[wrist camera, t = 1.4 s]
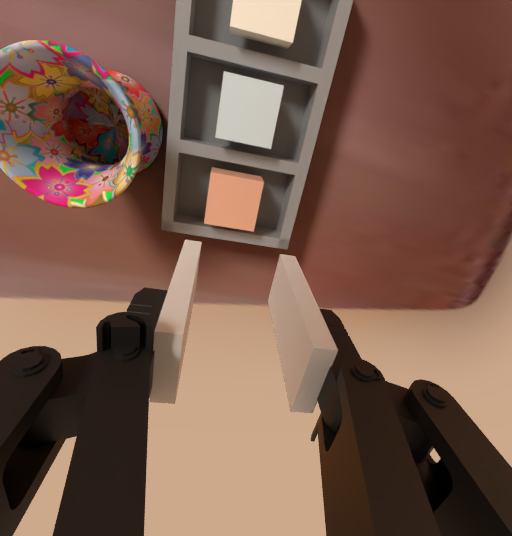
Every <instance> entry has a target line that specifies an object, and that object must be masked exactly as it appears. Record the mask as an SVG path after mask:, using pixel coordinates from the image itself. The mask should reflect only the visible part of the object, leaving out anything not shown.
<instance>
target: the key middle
mask: <svg viewBox="0 0 512 536" xmlns="http://www.w3.org/2000/svg"><path fill="white" fill-rule="evenodd" d="M283 88H284V86H283V85H279V84H275V83H271V82H267V81H263V80H259V79H254V78H250V77H246V76H242V75H238V74H234V73H230V72H226V71H224V74H223V81H222V89H221V97H220V104H219V112H218V120H217V127H216V135H215V138H220V139H225V140H230V141H234V142H239V143H244V144H249V145H254V146H259V147H263V148H268V149H271V146H272V141H273V136H274V132H275V127H276V122H277V117H278V112H279V108H280V103H281V98H282V93H283Z"/></svg>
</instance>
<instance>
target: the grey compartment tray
mask: <svg viewBox="0 0 512 536" xmlns="http://www.w3.org/2000/svg"><path fill="white" fill-rule="evenodd" d="M352 3H353V0H302V1H301V6H300V11H299V16H298V21H297V26H296V30H295V35H294V40H293V43H292V44H291V45H290V46H289V47H288V48H287V49H285V48H282V47H278V46H274V45H270V44H266V43H263V42H259V41H255V40H251V39H247V38H244V37H240V36H236V35H232V34H230V20H231V12H232V5H233V0H176V11H175V26H174V41H173V56H172V71H171V86H170V101H169V116H168V131H167V146H166V161H165V176H164V191H163V206H162V221H161V230H164V231H170V232H177V233H183V234H190V235H196V236H203V237H209V238H216V239H222V240H228V241H235V242H241V243H248V244H254V245H261V246H267V247H274V248H280V249H287V248H288V245H289V241H290V237H291V233H292V230H293V226H294V222H295V218H296V215H297V211H298V207H299V203H300V199H301V196H302V192H303V188H304V184H305V181H306V177H307V173H308V169H309V166H310V162H311V158H312V154H313V150H314V147H315V143H316V139H317V135H318V132H319V128H320V124H321V120H322V117H323V113H324V109H325V105H326V101H327V98H328V94H329V90H330V86H331V83H332V79H333V75H334V71H335V68H336V64H337V60H338V56H339V52H340V49H341V45H342V41H343V37H344V34H345V30H346V26H347V22H348V19H349V15H350V11H351V7H352ZM224 71H226V72H230V73H234V74H238V75H242V76H246V77H250V78H254V79H259V80H263V81H267V82H271V83H275V84H279V85H283V86H284V88H283V93H282V98H281V103H280V108H279V112H278V117H277V122H276V127H275V132H274V136H273V141H272V146H271V149H268V148H263V147H259V146H254V145H249V144H244V143H239V142H234V141H230V140H225V139H220V138H215V135H216V127H217V120H218V112H219V104H220V97H221V89H222V81H223V74H224ZM212 167H215V168H220V169H225V170H230V171H235V172H241V173H246V174H251V175H256V176H261V177H262V179H263V181H264V185H263V190H262V194H261V199H260V204H259V209H258V214H257V218H256V223H255V228H254V232H253V231H247V230H240V229H234V228H228V227H222V226H216V225H209V224H204V219H205V212H206V204H207V196H208V189H209V181H210V173H211V169H212Z"/></svg>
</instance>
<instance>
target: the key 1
mask: <svg viewBox="0 0 512 536" xmlns="http://www.w3.org/2000/svg"><path fill="white" fill-rule="evenodd" d="M263 185H264V181H263V179H262V177H261V176H256V175H251V174H246V173H241V172H235V171H230V170H225V169H220V168H215V167H212V169H211V173H210V181H209V189H208V196H207V204H206V212H205V219H204V224H209V225H216V226H222V227H228V228H234V229H240V230H247V231H253V232H254V228H255V223H256V218H257V214H258V209H259V204H260V199H261V194H262V190H263Z"/></svg>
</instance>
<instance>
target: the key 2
mask: <svg viewBox="0 0 512 536" xmlns="http://www.w3.org/2000/svg"><path fill="white" fill-rule="evenodd" d="M301 1H302V0H233V5H232V12H231V20H230V34H232V35H236V36H240V37H244V38H247V39H251V40H255V41H259V42H263V43H266V44H270V45H274V46H278V47H282V48H285V49H287V48H288V47H289V46H290V45H291V44H292V43H293V40H294V35H295V30H296V26H297V21H298V16H299V11H300V6H301Z"/></svg>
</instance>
